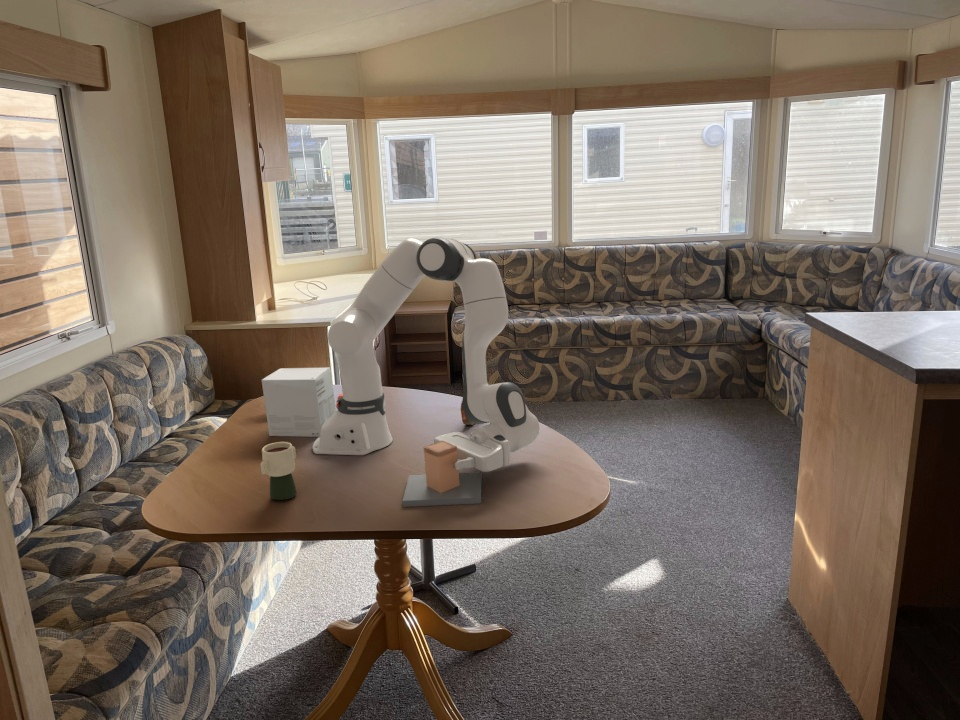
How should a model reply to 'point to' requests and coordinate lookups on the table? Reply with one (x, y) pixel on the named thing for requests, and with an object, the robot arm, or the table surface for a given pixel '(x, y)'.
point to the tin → (465, 417)
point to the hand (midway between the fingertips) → (442, 460)
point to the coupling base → (426, 496)
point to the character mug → (279, 469)
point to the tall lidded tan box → (441, 466)
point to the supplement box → (298, 401)
